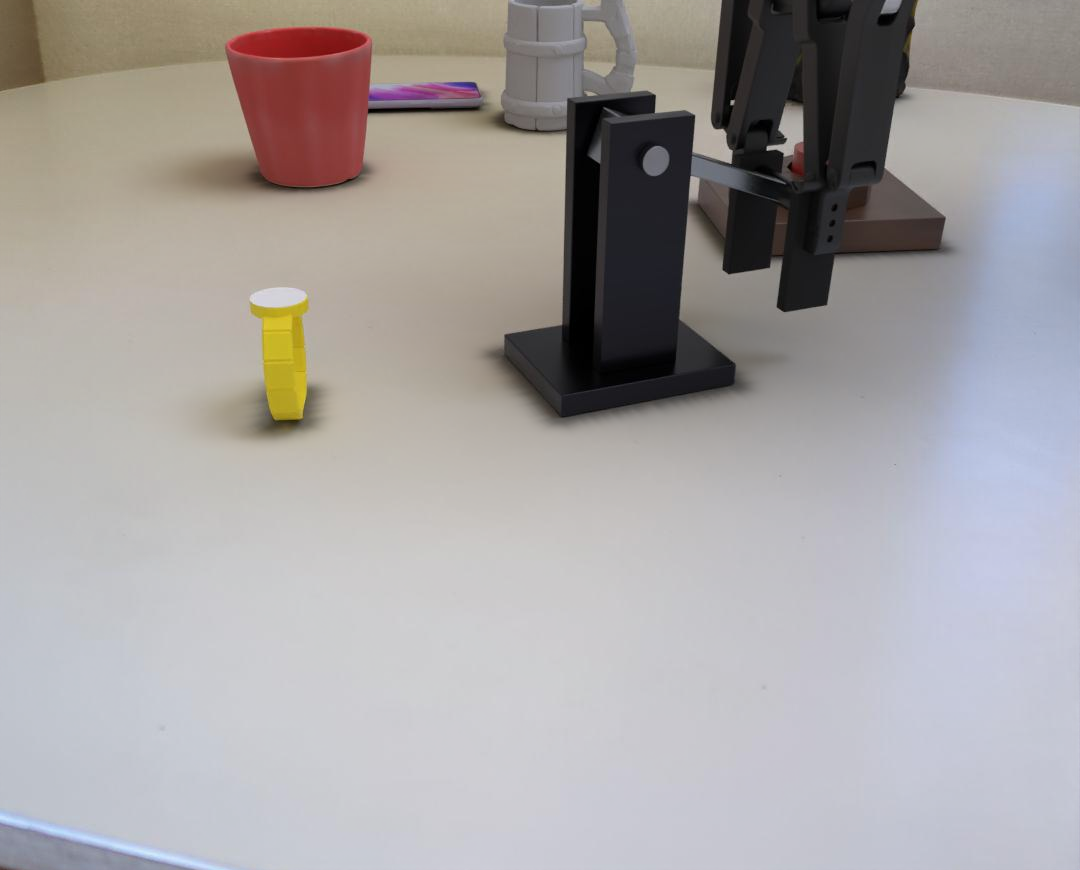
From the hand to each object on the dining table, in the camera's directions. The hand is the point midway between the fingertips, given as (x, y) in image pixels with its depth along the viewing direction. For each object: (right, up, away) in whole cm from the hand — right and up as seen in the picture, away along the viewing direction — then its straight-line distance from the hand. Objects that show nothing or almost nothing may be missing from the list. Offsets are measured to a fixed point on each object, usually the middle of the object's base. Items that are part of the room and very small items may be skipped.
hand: (773, 286), depth 66 cm
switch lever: (-5, +4, -5) cm, 8 cm away
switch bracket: (-9, -5, -1) cm, 10 cm away
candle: (+15, +29, +49) cm, 59 cm away
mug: (-10, +23, +40) cm, 47 cm away
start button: (+6, +11, +16) cm, 21 cm away
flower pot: (-31, +14, +27) cm, 43 cm away
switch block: (+6, +8, +18) cm, 21 cm away
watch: (-25, -8, -5) cm, 27 cm away
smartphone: (-26, +26, +45) cm, 58 cm away
